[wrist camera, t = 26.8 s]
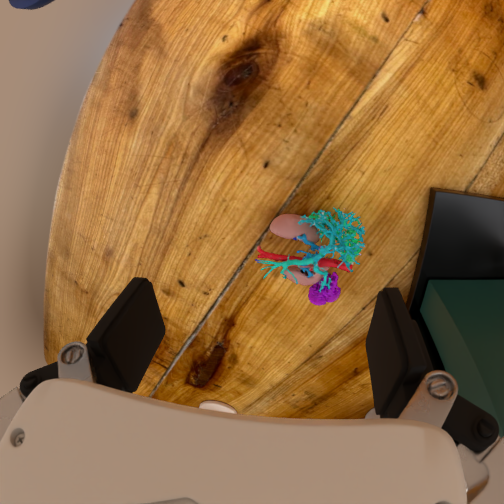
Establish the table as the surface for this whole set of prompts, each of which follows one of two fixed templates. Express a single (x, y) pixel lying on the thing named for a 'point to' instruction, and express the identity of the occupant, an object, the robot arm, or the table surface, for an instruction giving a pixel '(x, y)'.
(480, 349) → the book
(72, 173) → the table surface
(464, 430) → the robot arm
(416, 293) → the book stand
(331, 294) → the anatomy model
